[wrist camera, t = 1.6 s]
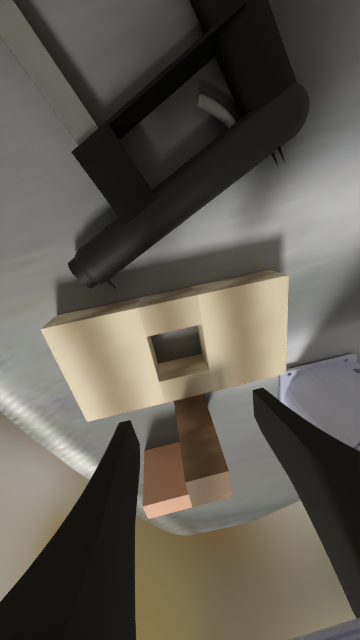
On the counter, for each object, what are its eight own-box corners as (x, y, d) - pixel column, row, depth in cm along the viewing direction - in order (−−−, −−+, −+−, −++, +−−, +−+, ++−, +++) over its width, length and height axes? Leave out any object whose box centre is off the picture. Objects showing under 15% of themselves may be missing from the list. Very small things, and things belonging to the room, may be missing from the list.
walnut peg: (202, 389, 24) (228, 471, 16) (205, 411, 25) (232, 496, 17) (173, 396, 24) (185, 482, 16) (178, 417, 25) (192, 507, 17)
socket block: (269, 269, 19) (288, 275, 17) (270, 357, 23) (286, 373, 21) (57, 315, 19) (40, 329, 16) (94, 398, 22) (87, 421, 20)
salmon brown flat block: (189, 438, 27) (199, 491, 21) (192, 450, 28) (203, 504, 22) (144, 450, 26) (142, 506, 21) (149, 462, 27) (148, 518, 22)
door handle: (-120, 64, 11) (98, 305, 16) (198, -289, 8) (332, 128, 13) (-57, 106, 14) (108, 296, 19) (187, -143, 11) (300, 150, 17)
